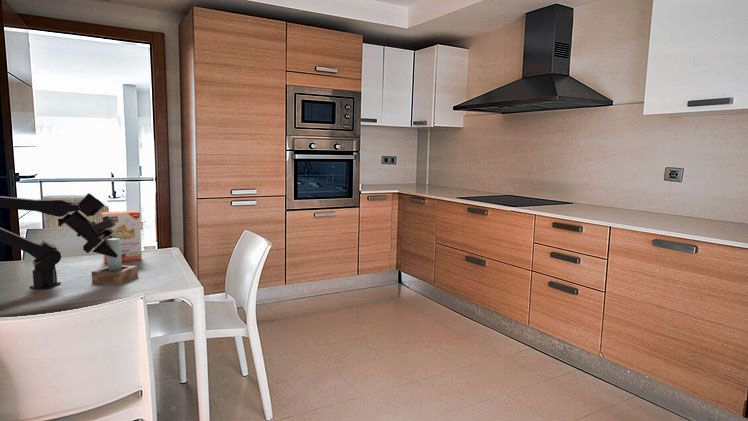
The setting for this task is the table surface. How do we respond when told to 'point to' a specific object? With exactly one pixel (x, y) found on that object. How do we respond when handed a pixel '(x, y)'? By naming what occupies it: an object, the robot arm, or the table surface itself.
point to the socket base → (114, 275)
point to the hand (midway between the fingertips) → (118, 255)
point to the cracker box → (126, 233)
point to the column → (115, 244)
